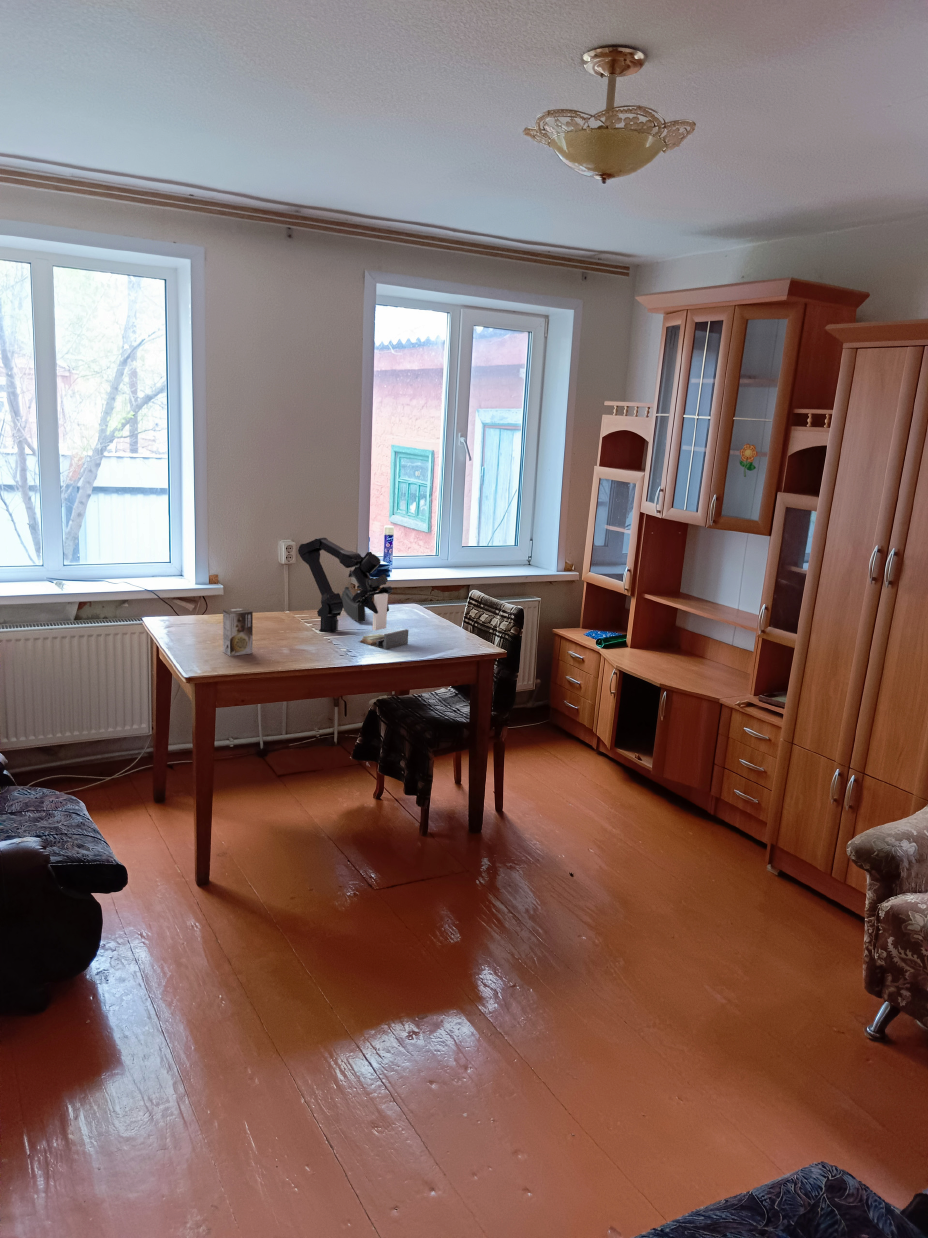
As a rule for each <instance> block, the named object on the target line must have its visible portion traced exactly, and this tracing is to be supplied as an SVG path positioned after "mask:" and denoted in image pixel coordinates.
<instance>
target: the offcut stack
mask: <svg viewBox="0 0 928 1238" xmlns="http://www.w3.org/2000/svg"><path fill="white" fill-rule="evenodd" d="M381 639H384V634H381V633H376V634H369V635H363V636H362V638H361V639H360V640H359V641H360V642H363V643H367V644H370V645H372V644H376V642H377V640H381ZM363 643H362V644H363ZM367 644H366V645H367ZM370 645H369V646H370Z"/></svg>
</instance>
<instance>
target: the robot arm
mask: <svg viewBox="0 0 928 1238" xmlns="http://www.w3.org/2000/svg"><path fill="white" fill-rule="evenodd" d="M321 551H324V552H326V553H327V554H329V555H330V556H332V557H334V558H336V559H337V560H338V561H339V563H340V564H341V566H343V567H344V568H345V569H350V570H349V571H348V572H349V573H348V576H347V577H348V578H354V580H355V582H356V584H357V586H356V587H357V589H360V590H357V591H356V592H355V594H353V597H352V601H353V603H354V604H357V603H359V602H360V601H361V602H360V603H359V604H360V605H363V606H364V607H365V609H368V610H370V611H371V612H372V613H373V612H374V613H376V614H377V613H378V610H377V608H376V606H375V604H374V599H373V598H374V595H377V594H383V593H386V594H388V596H389V595H390V594H392V592H394V589H393V588H392V586H391V585H387V583H388V581H389V580H388V577H387V576H386V574H381V575H379V576H378V577H373V576H372V577H371V576H370V574H372V573H373V572H374V571H375V570H376V569H377V568H378V567H379V566H380V565H381V563H382V562H381V559H380V557H378V555H376V554H374V553H373V552H372V551H367V552H366V553H365V555H364V556H362V555H361V553H359V552H357V551H353V550H348V549H345V548H343V547H341V546H340V545H338V544H337V543H334V542H332V541H331V540H329V539H328V538H327V537H324V536H323V537H316V538H315V539H313V540H311V541H309V542H305V543H301V544H299V547H298V548H297V553H298V555H299V557H300V558H301V561H303V562H304V563H305V564H306V565H308V567H309V570H310V571H311V575H312V576H313V579H314V582H315V584H316V586H317V589H318V590H319V592H320V595H321V598H320V605H321V607H320V608H318V609H317V610H316V611H317V617H320V624H319V625H320V627H319V628H320V629H319V630H318V631H319V632H326V633H335V632H336V631H338V630H339V619H338V617H339V616H341V614H342V611H343V610H344V609H343V600H342V599H341V596H342V595H341V594H340V592H337V593H335V591H334V590H333V589H332V586H331V583H330V582H329V580H328V577H327V575H326V573H325V570H324V568H323V565H322V563H321ZM352 568H353V569H352ZM384 585H385V586H384ZM389 611H390V607H389V603H387V613H388V612H389Z"/></svg>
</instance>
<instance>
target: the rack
mask: <svg viewBox="0 0 928 1238" xmlns="http://www.w3.org/2000/svg"><path fill="white" fill-rule="evenodd" d="M409 632H410V631H409V629H408V628H405V629H401V630H398V631H393V632H389V633H388V632H387V633H384V634H383V635H384V639H381V640H377V642H376V644H372V645H370V644H367V643H363V642H360V640H359V641H358V643H360V644H364V645H366V646H371V647H375V648H377V649H381V650H385V651H386V650H392V649H396V648H399V647H404V646H407V645H408V644H409Z"/></svg>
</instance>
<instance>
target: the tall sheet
mask: <svg viewBox="0 0 928 1238" xmlns="http://www.w3.org/2000/svg"><path fill="white" fill-rule="evenodd" d="M388 599H389V595H388V594H386V593H383V594H377V595H374V597H373V602H374V604H375V606H376V608H377V610H378V613H377V614H376V613H374V612H372V615H373V616H372V630H373V631H379V630H385V629H386V628H387V620H388V619H387V615H388V612H387V603H388ZM388 604H389V603H388Z"/></svg>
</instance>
